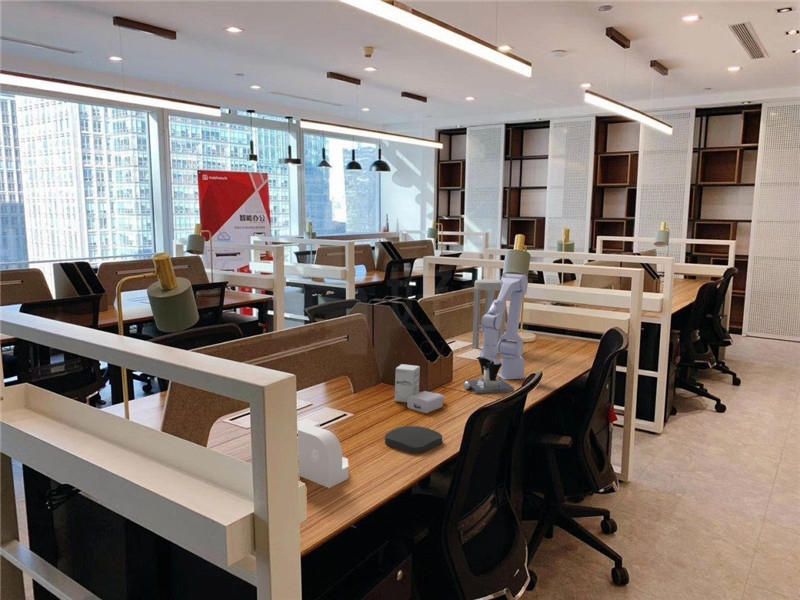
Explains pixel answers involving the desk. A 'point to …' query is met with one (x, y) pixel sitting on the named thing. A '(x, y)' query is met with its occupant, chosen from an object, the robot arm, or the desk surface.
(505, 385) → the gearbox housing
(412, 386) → the supplement box
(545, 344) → the desk surface
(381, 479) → the desk surface
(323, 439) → the tape dispenser
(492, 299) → the stool
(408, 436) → the media streaming box
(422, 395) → the charger
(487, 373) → the spout can
